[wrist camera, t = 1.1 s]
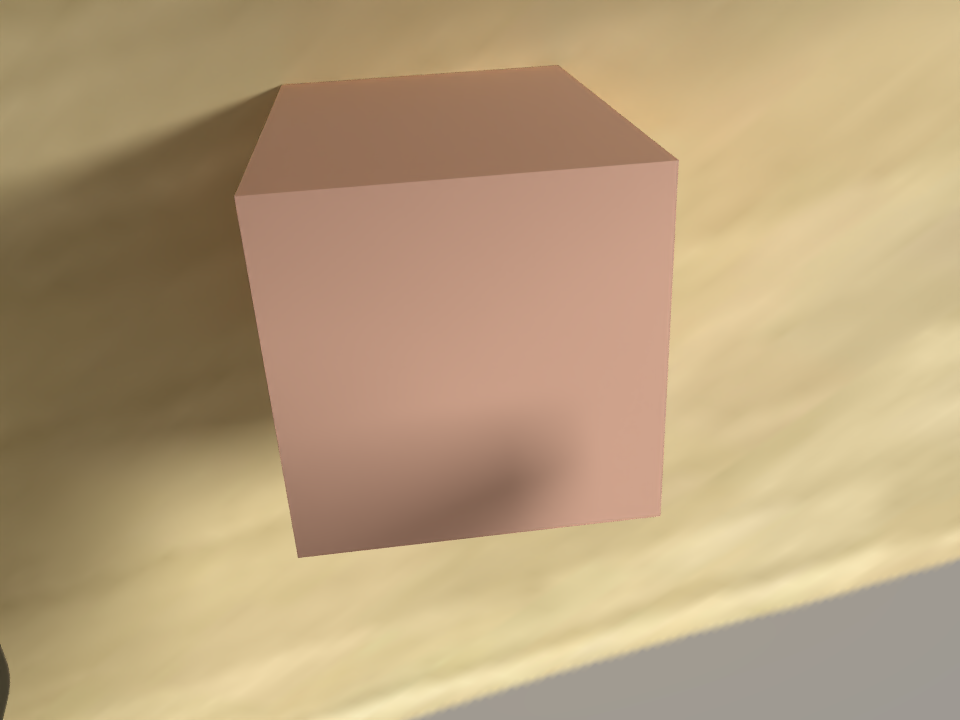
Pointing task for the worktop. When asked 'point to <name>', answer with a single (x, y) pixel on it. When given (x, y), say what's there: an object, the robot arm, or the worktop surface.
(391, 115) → the terracotta block
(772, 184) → the worktop surface
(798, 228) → the worktop surface
